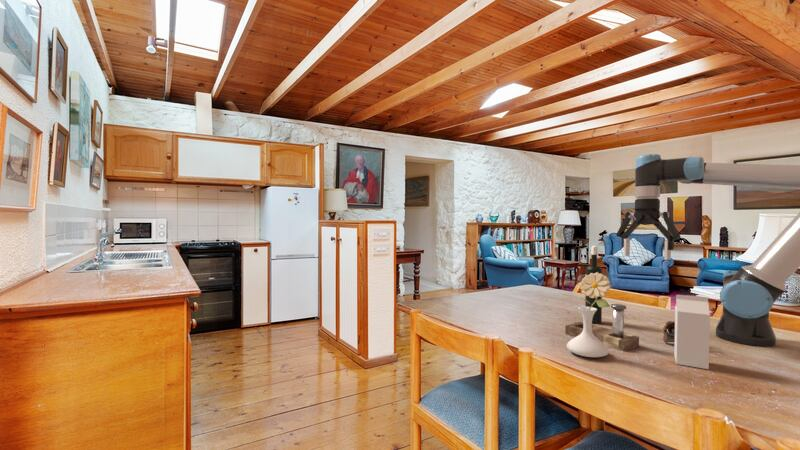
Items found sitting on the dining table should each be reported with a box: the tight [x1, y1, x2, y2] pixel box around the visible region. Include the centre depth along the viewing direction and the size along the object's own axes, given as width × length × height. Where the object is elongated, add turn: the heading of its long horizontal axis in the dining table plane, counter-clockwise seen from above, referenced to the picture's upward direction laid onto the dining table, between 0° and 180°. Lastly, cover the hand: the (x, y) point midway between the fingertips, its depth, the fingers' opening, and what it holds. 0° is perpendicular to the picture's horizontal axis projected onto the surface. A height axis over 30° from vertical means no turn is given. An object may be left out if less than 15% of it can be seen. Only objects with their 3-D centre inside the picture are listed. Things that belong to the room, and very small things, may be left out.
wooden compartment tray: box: [564, 321, 640, 352], centre depth 128 cm, size 20×9×3 cm, turn 32°
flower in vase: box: [566, 272, 612, 358], centre depth 113 cm, size 13×11×25 cm
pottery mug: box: [662, 320, 675, 345], centre depth 125 cm, size 12×10×8 cm
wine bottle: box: [584, 245, 603, 325], centre depth 149 cm, size 6×6×30 cm
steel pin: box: [610, 303, 627, 339], centre depth 122 cm, size 4×4×13 cm
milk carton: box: [673, 294, 711, 370], centre depth 107 cm, size 7×7×19 cm
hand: (646, 257), depth 137 cm, fingers open, 13 cm apart
